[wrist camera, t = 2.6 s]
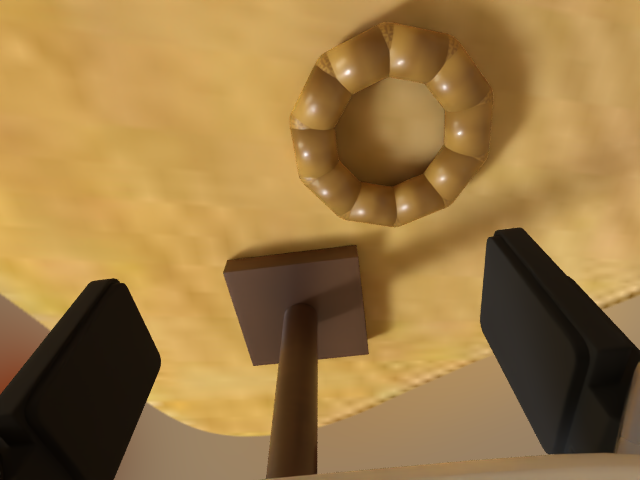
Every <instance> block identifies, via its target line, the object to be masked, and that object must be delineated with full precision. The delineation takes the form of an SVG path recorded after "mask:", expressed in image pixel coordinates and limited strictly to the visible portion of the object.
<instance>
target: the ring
mask: <svg viewBox="0 0 640 480" xmlns="http://www.w3.org/2000/svg"><path fill="white" fill-rule="evenodd" d="M386 77H393V78H398V79H403V80H409V81H414V82H419V83H424V84H425V85H426V86H427V88H428V89H429V90H430V92H431V93H432V94H433V95H434V97H435V98H436V99H437V100H438V102H439V103H440V104H441V106H442V107H443V108H444V109H445V131H444V145H443V147H442V148H441V149H440V151H439V152H438V154H437V155H436V157H435V158H434V159H433V161H432V162H431V164H430V165H429V166H428V168H427V169H426V171H425V172H424V173H423V174H421V175H418V176H416V177H414V178H411V179H409V180H407V181H405V182H402V183H400V184H398V185H395V186H393V187H390V186H383V185H377V184H371V183H365V182H360V181H359V180H358V179H357V178H356V177H355V176H354V175H353V174H352V173H351V172H350V171H349V170H348V169H347V168H346V167H345V166H344V165H343V164H342V163H341V162H340V161H339V159H338V150H337V142H336V134H335V126H336V124H337V122H338V120H339V118H340V116H341V115H342V113H343V111H344V109H345V107H346V106H347V104H348V102H349V100H350V98H351V96H352V95H353V94H354V93H356V92H358V91H360V90H362V89H364V88H366V87H368V86H370V85H372V84H374V83H376V82H378V81H380V80H382V79H384V78H386ZM492 111H493V91H492V88H491V86H490V84H489V83H488V81H487V80H486V79H485V77H484V76H483V74H482V73H481V72H480V70H479V69H478V67H477V66H476V64H475V63H474V62H473V60H472V59H471V57H470V56H469V55H468V53H467V52H466V50H465V49H464V48H463V46H462V45H461V43H460V42H459V41H458V40H457V39H456V38H455V37H453V36H452V35H450V34H446V33H442V32H437V31H432V30H427V29H422V28H417V27H412V26H407V25H402V24H397V23H392V22H385V23H381V24H378V25H376V26H374V27H372V28H370V29H368V30H366V31H365V32H363V33H361V34H359V35H357V36H355V37H353V38H351V39H350V40H348V41H346V42H344V43H342V44H340V45H338V46H336V47H335V48H333V49H331V50H329V51H327V52H325V53H324V54H323V55H321V57H320V58H319V59H318V60H317V62H316V64H315V66H314V68H313V70H312V72H311V74H310V76H309V78H308V80H307V82H306V84H305V86H304V88H303V90H302V92H301V94H300V96H299V99H298V101H297V103H296V105H295V107H294V109H293V111H292V113H291V116H290V129H291V134H292V140H293V145H294V151H295V157H296V162H297V168H298V173H299V177H300V179H301V181H302V182H303V183H304V185H305V186H306V187H308V188H309V189H310V190H311V191H312V192H313V193H314V194H315V195H316V196H317V197H318V198H319V199H320V200H321V201H322V202H323V203H325V204H326V205H327V206H328V207H329V208H330V209H331V210H332V211H333V212H334V213H335V214H336V215H337V216H339V217H340V218H342V219H345V220H350V221H356V222H363V223H369V224H376V225H382V226H389V227H399V226H402V225H404V224H407V223H409V222H412V221H414V220H417V219H419V218H422V217H424V216H427V215H429V214H431V213H434V212H436V211H439V210H441V209H444V208H446V207H448V206H449V205H451V204H452V203H453V202H454V201H455V199H456V198H457V197H458V196H459V194H460V193H461V192H462V190H463V189H464V188H465V186H466V185H467V184H468V183H469V181H470V180H471V179H472V177H473V176H474V175H475V174H476V172H477V171H478V170H479V168H480V167H481V166H482V165H483V163H484V162H485V160H486V159H487V157H488V154H489V149H490V136H491V123H492Z"/></svg>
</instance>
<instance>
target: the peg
mask: <svg viewBox="0 0 640 480" xmlns="http://www.w3.org/2000/svg"><path fill="white" fill-rule="evenodd" d="M223 274H224V277H225V280H226V283H227V286H228V289H229V292H230V296H231V299H232V302H233V305H234V308H235V311H236V314H237V317H238V320H239V323H240V326H241V329H242V333H243V336H244V339H245V342H246V345H247V348H248V351H249V354H250V357H251V360H252V363H253V366H258V365H268V364H278V363H279V366H278V375H277V384H276V393H275V402H274V411H273V420H272V429H271V439H270V449H269V457H268V466H267V475H266V479H272V478H283V477H294V476H304V475H315V474H317V392H318V359H327V358H337V357H347V356H357V355H367V354H369V351H368V342H367V333H366V324H365V315H364V306H363V296H362V287H361V278H360V269H359V260H358V252H357V246H356V245H352V246H343V247H335V248H327V249H318V250H310V251H302V252H293V253H285V254H277V255H268V256H260V257H252V258H243V259H235V260H228V261H227V263H226V266H225V269H224V272H223Z"/></svg>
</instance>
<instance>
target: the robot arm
mask: <svg viewBox="0 0 640 480" xmlns="http://www.w3.org/2000/svg"><path fill="white" fill-rule="evenodd" d="M480 323H481V328H482V331H483V333H484V335H485V337H486V339H487V341H488V343H489V345H490V347H491V349H492V351H493V353H494V355H495V357H496V358H497V360H498V362H499V364H500V366H501V368H502V370H503V372H504V374H505V376H506V378H507V380H508V382H509V384H510V386H511V388H512V389H513V391H514V393H515V395H516V397H517V399H518V401H519V403H520V405H521V407H522V409H523V411H524V413H525V415H526V417H527V418H528V420H529V422H530V424H531V426H532V428H533V430H534V432H535V434H536V436H537V438H538V440H539V442H540V444H541V445H542V447H543V449H544V450H545V452H546V453H548V454H553V455H539V456H525V457H513V458H512V457H511V458H497V459H484V460H471V461H460V462H448V463H437V464H426V465H415V466H404V467H392V468H381V469H370V470H359V471H348V472H336V473H327V474H315V475H304V476H294V477H283V478H272V479H262V480H640V350H639V349H638V348H637V347H636V346H635V345H634V344H633V343H632V342H631V341H630V340H629V339H628V337H627V336H626V335H625V334H624V333H623V332H622V331H621V330H620V329H619V328H618V327H617V326H616V325H615V324H614V323H613V322H612V321H611V319H610V318H609V317H608V316H607V315H606V314H605V313H604V312H603V311H602V310H601V309H600V308H599V307H598V306H597V305H596V303H595V302H594V301H593V300H592V299H591V298H590V297H589V296H588V295H587V294H586V293H585V292H584V291H583V290H582V289H581V288H580V286H579V285H578V284H577V283H576V282H575V281H574V280H573V279H571V278H570V277H569V276H567V275H566V274H565V273H564V272H563V271H562V270H561V269H560V268H559V267H558V266H557V265H556V264H555V263H554V261H553V260H552V259H551V258H550V257H549V256H548V255H547V254H546V253H545V252H544V251H543V250H542V249H541V248H540V246H539V245H538V244H537V243H536V242H535V241H534V240H533V239H532V238H531V237H530V236H529V235H528V234H527V232H526V231H525V230H524V229H522V228H511V229H503V230H497V231H495V233H494V237H489V238H488V239H487V244H486V256H485V268H484V279H483V291H482V302H481V314H480ZM160 366H161V358H160V354H159V352H158V350H157V348H156V346H155V344H154V342H153V340H152V338H151V335H150V333H149V331H148V329H147V327H146V325H145V323H144V321H143V319H142V317H141V315H140V313H139V310H138V308H137V306H136V304H135V302H134V300H133V298H132V296H131V294H130V292H129V290H128V288H127V286H126V285H125V284H124V283H120V282H119V281H118V280H117V279H114V278H113V279H105V280H97V281H92V282H90V283H89V284H88V285H87V287H86V288H85V289H84V290H83V292H82V293H81V294H80V295H79V297H78V298H77V299H76V300H75V302H74V303H73V304H72V305H71V307H70V308H69V309H68V310H67V312H66V313H65V314H64V315H63V317H62V318H61V319H60V320H59V322H58V323H57V324H56V325H55V327H54V328H53V329H52V330H51V332H50V333H49V334H48V336H47V337H46V338H45V339H44V341H43V342H42V343H41V344H40V346H39V347H38V348H37V349H36V351H35V352H34V353H33V354H32V356H31V357H30V358H29V359H28V361H27V362H26V363H25V364H24V366H23V367H22V368H21V370H20V371H19V372H18V373H17V375H16V376H15V377H14V378H13V379H12V381H11V382H10V383H9V385H8V386H7V387H6V388H5V389H4V391H3V392H2V393H1V395H0V480H113V479H114V478H115V475H116V473H117V470H118V468H119V466H120V463H121V460H122V458H123V456H124V454H125V451H126V449H127V446H128V444H129V442H130V439H131V436H132V434H133V432H134V430H135V427H136V425H137V422H138V420H139V418H140V415H141V413H142V410H143V408H144V406H145V403H146V401H147V398H148V396H149V394H150V391H151V389H152V386H153V384H154V382H155V379H156V377H157V374H158V372H159V370H160Z"/></svg>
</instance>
